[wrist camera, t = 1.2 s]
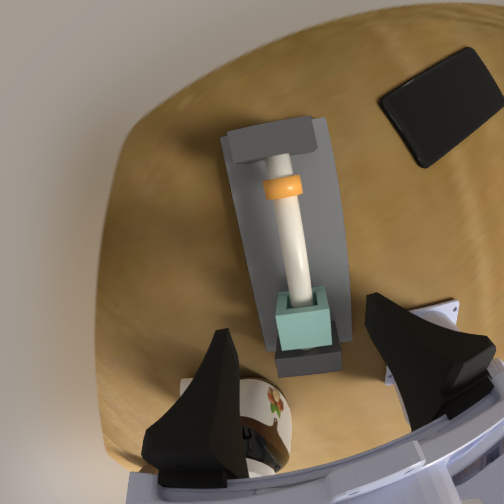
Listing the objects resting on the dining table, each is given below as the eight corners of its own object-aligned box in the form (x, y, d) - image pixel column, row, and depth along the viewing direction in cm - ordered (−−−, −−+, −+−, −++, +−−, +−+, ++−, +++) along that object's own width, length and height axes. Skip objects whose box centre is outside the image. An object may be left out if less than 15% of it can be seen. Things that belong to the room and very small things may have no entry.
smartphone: (377, 99, 17) (471, 44, 13) (374, 102, 18) (467, 47, 13) (424, 171, 18) (508, 103, 14) (420, 171, 19) (503, 104, 14)
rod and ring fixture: (350, 333, 24) (360, 371, 19) (267, 344, 25) (261, 383, 20) (323, 120, 19) (333, 104, 13) (223, 138, 20) (201, 130, 15)
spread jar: (301, 413, 28) (297, 495, 17) (224, 429, 31) (203, 498, 20) (254, 345, 26) (229, 442, 15) (170, 371, 29) (127, 444, 18)
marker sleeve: (327, 318, 21) (332, 344, 18) (284, 324, 22) (281, 350, 18) (324, 285, 20) (329, 308, 17) (278, 292, 21) (275, 315, 18)
